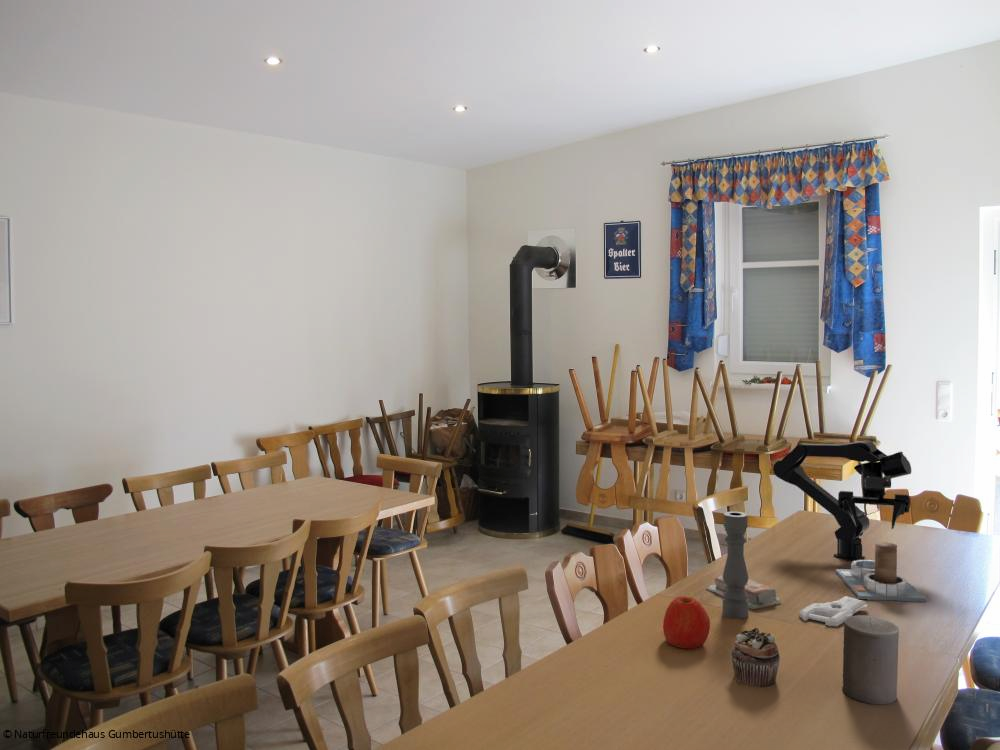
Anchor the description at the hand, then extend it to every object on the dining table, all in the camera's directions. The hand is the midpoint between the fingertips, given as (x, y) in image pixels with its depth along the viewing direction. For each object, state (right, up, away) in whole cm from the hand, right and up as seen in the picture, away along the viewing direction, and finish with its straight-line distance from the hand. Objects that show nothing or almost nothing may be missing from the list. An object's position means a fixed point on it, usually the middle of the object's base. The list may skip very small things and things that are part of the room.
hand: (874, 526), depth 228 cm
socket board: (-4, -14, -10) cm, 17 cm away
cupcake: (-54, -19, -65) cm, 87 cm away
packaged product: (-42, -16, -15) cm, 47 cm away
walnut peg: (-4, -14, -16) cm, 21 cm away
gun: (-24, -16, -30) cm, 42 cm away
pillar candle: (-34, -19, -72) cm, 82 cm away
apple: (-64, -18, -46) cm, 81 cm away
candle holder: (-48, -16, -29) cm, 58 cm away
